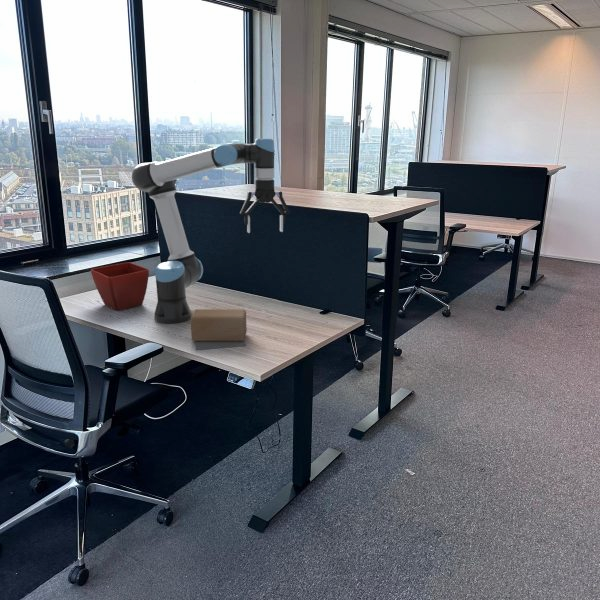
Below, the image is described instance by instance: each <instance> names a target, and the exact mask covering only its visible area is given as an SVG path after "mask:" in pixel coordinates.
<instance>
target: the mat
mask: <svg viewBox="0 0 600 600" xmlns="http://www.w3.org/2000/svg"><path fill="white" fill-rule="evenodd" d="M194 346H195V351H204V350H214V349H215V350H216V349H227V348H237V347H246V343H245V340H244V341H195V342H194Z"/></svg>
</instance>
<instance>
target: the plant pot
mask: <svg viewBox="0 0 600 600" xmlns="http://www.w3.org/2000/svg"><path fill="white" fill-rule="evenodd" d="M90 273H91V276H92V277H91V278H92V279H93V282H94V285H95V288H96V289H97V292H98V294H99V297H100V298H101V301H102V302H103V305H105V306H106V307H108V306H109V307H108V308H111V309H113V310H115V311H122V310H126V309H129V308H134V307H137V306H142V305H143V304H144V300H145V297H146V294H147V290H148V289H147V288H148V284H149V283H148V282H149V274H150V270H149V268H146V267H143V266H140V265H138V264H136V263H132V262H131V261H130V262H122V263H116V264H112V265H105V266H100V267H95V268H91V269H90Z"/></svg>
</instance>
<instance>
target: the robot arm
mask: <svg viewBox="0 0 600 600" xmlns="http://www.w3.org/2000/svg"><path fill="white" fill-rule="evenodd" d="M275 152H276V151H275V141H274V139H272V138H255V139H254V143H242V142H241V143H239V142H230V143H222V144H220V145H217V146H216V147H215V146H214V147H212V148H209V149H204V150H202V151H201V150H200V151H198V152H194V153H190V154H186V155H183V156H179V157H176V158H173V159H168V160H165V161H160V160H158V161H151V162H143V163H140V164H138V165H137V166H135V167H134V168H133V170H132V173H131V180H132V184H133V185H134V186H135V187H136V189H137V190H138V191H141V192H144V193H148V196H149V198H150V199H152V200H153V202H154V203H155V204H154V205H155V207H156V210H157V211H156V212H157V214H158V215H157V216H158V218H159V221H160V224H161V228H162V232H163V235H164V238H165V241H166V244H167V249H168V252H169V256H168V258H167V261H164V262H161V263H159V264H158V265H156V267H155V276H154V277H155V284H156V295H157V304H156V307H155V311H154V320H155V321H156V320H157V321H159V322H158V323H160V322H164V323H163V324H179V323H183V322H187V321H189V320H190V319H191V316H192V311H191V308H190V306H189V303H188V301H187V294H186V293H187V292H186V291H187V290H186V289H187V288H189V287H190V286H191V285H194V284H197V282H198V281H199V280H200V279H201V278H202V277H203V273H204V267H203V264H202V262H201V260H200V259H198V258H197V257H196V254H195V252H194V251H192V250H191V248H190V246H189V242H188V239H187V236H186V233H185V232H186V231H185V229H184V225H183V223H182V219H181V215H180V211H179V208H178V205H177V201H176V198H175V194H176V193H177V188H176V183H177V182H178V181H177V180H178V179H182V178H186V177H190V176H193V175H194V176H195V175H196V174H200V173H204V172H208V171H212V170H215V169H219V168H223V167H227V166H231V165H236V164H255V165H254V169H255V172H254V174H255V176H254V177H255V178H256V179H255V181H254V184H255V185H254V186H255V190H254V192H253V191H247V196H246V199H245V201H244V202H243V205H242V207H241V209H240V211H239V214H240V215H241V216H243V217H244V224H245V225H246V226H247V227H246V232H247V233H248V234H250V233H251V217H250V214H251V213H252V212H253V210H254V209H255V208H256V207H257V206H258V204H259V203H261V204H264V203H267V204H269V203H271V204H272V205H273V206H274V207H275V209H277V211H278V212H279V213H280V215H279V232H281V233H283V232H284V224H286V216H287V215H289V214H291V212H290V209H289V207H288V205H287V203H286V201H285V199H284V197H283V192H282V190H278V191H275V180H274V178H275ZM275 196H276V197H277V198H278V199H279V201H280V204H281V205H282V208H281V206H280V205H279V204H278V202H277V201H276V200H275V199H274V198H275ZM253 197H256V198H255V200H254V201H253V202H252V203H251V202H250V201H251V199H252V198H253ZM250 203H251V205H250V206H249V204H250ZM248 206H249V207H248ZM157 321H156V322H157ZM178 322H179V323H178Z"/></svg>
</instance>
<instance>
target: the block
mask: <svg viewBox="0 0 600 600" xmlns="http://www.w3.org/2000/svg"><path fill="white" fill-rule="evenodd" d="M189 320H190V332H191V334H190V335H191V336H190V337H191V340H192V341H193V342H194V341H244V342H245V339H246V336H247V335H246V334H247V331H248V329H247V311H246V310H245V309H236V308H234V309H231V308H230V309H223V308H222V309H218V308H217V309H215V308H214V309H213V308H211V309H207V308H206V309H203V308H202V309H201V308H199V309H197V308H196V309H194V311H193V313H191V318H190V319H189Z"/></svg>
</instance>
